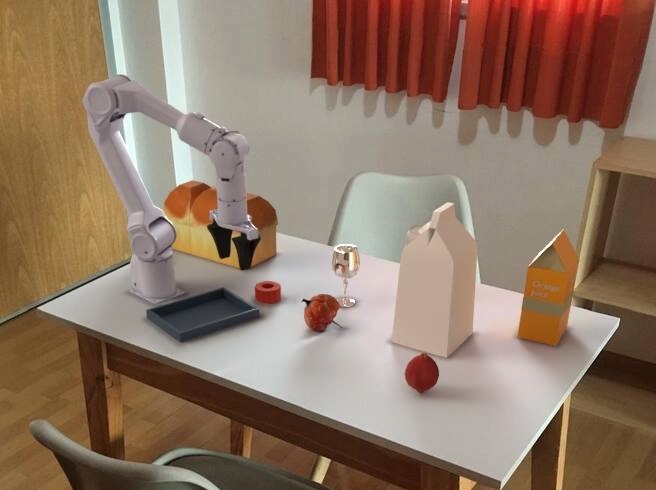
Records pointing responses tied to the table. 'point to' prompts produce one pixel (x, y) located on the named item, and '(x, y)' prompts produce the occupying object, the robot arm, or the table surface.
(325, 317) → the pomegranate
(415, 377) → the onion
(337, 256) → the wineglass
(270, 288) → the ring
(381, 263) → the table surface
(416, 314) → the milk
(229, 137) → the robot arm
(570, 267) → the orange juice
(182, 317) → the tray
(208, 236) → the bread
